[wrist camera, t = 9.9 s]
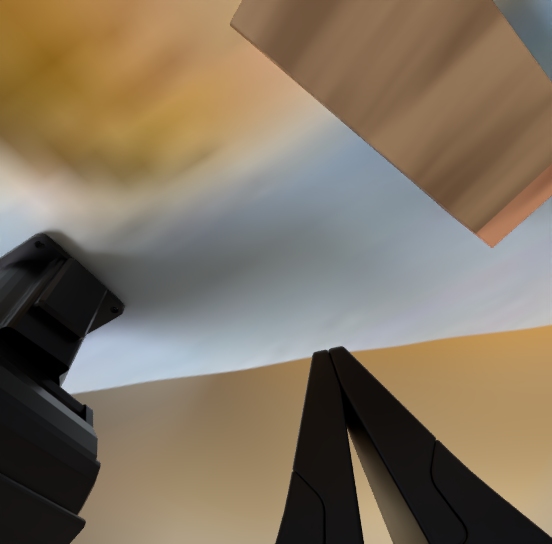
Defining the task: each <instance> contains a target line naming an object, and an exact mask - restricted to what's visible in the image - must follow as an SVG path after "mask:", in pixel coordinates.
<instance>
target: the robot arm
mask: <svg viewBox="0 0 552 544" xmlns="http://www.w3.org/2000/svg"><path fill="white" fill-rule="evenodd" d="M38 241H41V242H43V243H44V245H45V246H43V245H40V244H39V243H38ZM113 307H116V308H118V309H114V308H113ZM124 308H125V307H124V304H123V303H122V302H121V301H120V300H119V299H118V298H117V297H116V296H115V295H113V294H112V293H111V292H110V291H109V290H108V289H107V288H106V287H105V286H104V285H103V284H102V283H101V282H100V281H99V280H97V279H96V278H95V277H94V276H93V275H92V274H91V273H90V272H89V271H87V270H86V269H85V268H84V267H83V266H82V265H81V264H80V263H79V262H77V261H76V260H75V259H73V258H72V257H71V256H70V255H69V254H68V253H67V252H66V251H64V250H63V249H62V248H61V247H60V246H59V245H58V244H57V243H56V242H54V241H53V240H52V239H51V238H50V237H49V236H47V235H45V234H36V235H34V236H32V237H31V238H29V239H28V240H26V241H25V242H23V243H22V244H20V245H19V246H17V247H16V248H14V249H13V250H11V251H10V252H8V253H7V254H5V255H4V256H2V257H1V258H0V544H70V543H71V542H72V540H73V539H74V538H75V537H76V536H77V535H78V534H79V533H80V531H81V530H82V529H83V528H84V526H85V523H86V521H85V520H84V519H83V518H81V517H79V516H78V514H79V513H80V511H81V510H82V508H83V506H84V504H85V502H86V500H87V498H88V496H89V495H90V493H91V491H92V489H93V487H94V484H95V481H96V478H97V475H98V472H99V469H100V462H99V461H98V460H97V459H96V458H97V436H96V434H95V432H94V430H93V410H92V409H91V408H89V407H88V406H87V405H82V404H81V403H80V402H78V401H77V400H76V399H75V398H73V397H72V396H71V395H70V394H69V393H67V392H66V391H65V390H64V389H62V388H61V386H62V384H63V382H64V380H65V378H66V375H67V373H68V371H69V369H70V367H71V365H72V363H73V361H74V359H75V357H76V355H77V353H78V350H79V348H80V346H81V344H82V342H83V340H84V338H85V336H86V335H87V334H88V333H90V332H92V331H94V330H95V329H97V328H99V327H101V326H102V325H104V324H106V323H108V322H109V321H111V320H113V319H115V318H116V317H118V316H120V315H121V314H122V313H123V310H124ZM347 429H348V432H349V434H350V437H351V440H352V442H353V445H354V447H355V450H356V452H357V455H358V457H359V459H360V462H361V464H362V467H363V470H364V472H365V474H366V477H367V479H368V482H369V484H370V487H371V489H372V492H373V494H374V497H375V499H376V502H377V504H378V507H379V509H380V511H381V514H382V517H383V519H384V522H385V524H386V527H387V529H388V532H389V534H390V537H391V539H392V541H393V544H552V537H550V536H549V535H548V534H547V533H545V532H544V531H543V530H542V529H540V528H539V527H538V526H537V525H536V524H534V523H533V522H532V521H531V520H530V519H528V518H527V517H526V516H524V515H523V514H522V513H521V512H520V511H518V510H517V509H516V508H515V507H513V506H512V505H511V504H510V503H509V502H507V501H506V500H505V499H503V498H502V497H501V496H500V495H499V494H498V493H496V492H495V491H494V490H493V489H492V488H490V487H489V486H488V485H487V484H485V483H484V482H483V481H482V480H481V479H479V477H477V476H476V475H475V474H474V473H473V472H471V471H470V470H469V469H468V468H467V467H466V466H465V465H464V464H463V463H462V462H461V461H460V460H459V459H457V458H456V457H455V456H454V455H453V454H452V453H451V452H450V451H449V450H448V449H447V448H446V447H445V446H444V445H443V444H442V443H441V442H440V441H439V440H436V438H435V437H434V435H433V434H432V433H430V432H429V430H428V429H427V428H426V427H424V426H423V424H421V422H419V421H418V420H417V419H416V418H415V417H414V416H413V415H412V414H411V413H410V412H409V411H408V410H407V409H406V408H405V407H404V406H403V405H402V404H401V403H400V402H399V401H398V400H397V399H396V398H395V397H394V396H393V395H392V394H391V393H390V392H389V391H388V390H387V389H386V388H385V387H384V386H383V385H382V384H381V383H380V382H379V381H378V380H377V379H376V378H375V377H374V376H373V375H372V374H371V373H370V372H369V371H368V370H367V369H366V368H365V367H364V366H363V365H362V364H361V363H360V362H359V361H358V360H356V358H355V357H353V355H351V353H350V352H349V351H348V350H346V349H345V348H344V347H342V346H340V347H335V348H331V349H329V351H328V350H322V351H317V352H314V353H313V356H312V361H311V367H310V373H309V378H308V384H307V390H306V395H305V402H304V407H303V413H302V418H301V424H300V430H299V436H298V441H297V447H296V452H295V458H294V464H293V472H292V474H291V480H290V485H289V491H288V495H287V500H286V505H285V510H284V514H283V517H282V521H281V525H280V529H279V532H278V536H277V539H276V543H275V544H364V540H363V533H362V526H361V520H360V514H359V506H358V500H357V493H356V486H355V479H354V473H353V466H352V460H351V452H350V446H349V439H348V432H347Z"/></svg>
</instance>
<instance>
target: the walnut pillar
mask: <svg viewBox="0 0 552 544" xmlns="http://www.w3.org/2000/svg"><path fill="white" fill-rule="evenodd" d="M230 26H231V27H233V28H234V29H235V30H236V31H237V32H238V33H240V34H241V35H242V36H243V37H244V38H245V39H247V40H248V41H249V42H250V43H251V44H252V45H253V46H255V47H256V48H257V49H258V50H259V51H260V52H262V53H263V54H264V55H265V56H266V57H267V58H269V59H270V60H271V61H272V62H273V63H274V64H276V65H277V66H278V67H279V68H280V69H281V70H283V71H284V72H285V73H286V74H287V75H288V76H290V77H291V78H292V79H293V80H294V81H295V82H297V83H298V84H299V85H300V86H301V87H302V88H304V89H305V90H306V91H307V92H308V93H309V94H311V95H312V96H313V97H314V98H315V99H316V100H318V101H319V102H320V103H321V104H322V105H323V106H325V107H326V108H327V109H328V110H329V111H330V112H332V113H333V114H334V115H335V116H336V117H337V118H339V119H340V120H341V121H342V122H343V123H344V124H346V125H347V126H348V127H349V128H350V129H351V130H352V131H354V132H355V133H356V134H357V135H358V136H359V137H361V138H362V139H363V140H364V141H365V142H366V143H368V144H369V145H370V146H371V147H372V148H373V149H375V150H376V151H377V152H378V153H379V154H380V155H382V156H383V157H384V158H385V159H386V160H387V161H389V162H390V163H391V164H392V165H393V166H394V167H396V168H397V169H398V170H399V171H400V172H401V173H403V174H404V175H405V176H406V177H407V178H408V179H410V180H411V181H412V182H413V183H414V184H415V185H417V186H418V187H419V188H420V189H421V190H422V191H424V192H425V193H426V194H427V195H428V196H429V197H431V198H432V199H433V200H434V201H435V202H436V203H438V204H439V205H440V206H441V207H442V208H443V209H444V210H446V211H447V212H448V213H449V214H450V215H451V216H453V217H454V218H455V219H456V220H458V221H459V222H460V223H461V224H463V225H464V226H465V227H466V228H468V229H469V230H470V231H471V232H473V233H474V234H475V235H476V236H478V237H479V238H480V239H481V240H483V241H484V242H485V243H486V244H488V245H489V246H490V247H491V248H493V247H494V246H495V245H496V244H497V243H499V242H500V241H501V240H502V239H503V238H504V237H505V236H506V235H508V234H509V233H510V232H511V231H512V230H513V229H514V228H516V227H517V226H518V225H519V224H520V223H521V222H522V221H523V220H525V219H526V218H527V217H528V216H529V215H530V214H531V213H533V212H534V211H535V210H536V209H537V208H538V207H539V206H540V205H542V204H543V203H544V202H545V201H546V200H547V199H548V198H550V197H551V196H552V82H551V80H550V79H549V78H548V76H547V75H546V74H545V72H544V71H543V69H542V68H541V67H540V65H539V64H538V63H537V61H536V60H535V58H534V57H533V56H532V54H531V53H530V52H529V50H528V49H527V47H526V46H525V45H524V43H523V42H522V41H521V39H520V38H519V36H518V35H517V34H516V32H515V31H514V30H513V28H512V27H511V25H510V24H509V23H508V21H507V20H506V19H505V17H504V16H503V14H502V13H501V12H500V10H499V9H498V8H497V6H496V5H495V3H494V2H493V1H492V0H242V2H241V4H240V5H239V7H238V9H237V11H236V13H235V14H234V16H233V18H232V20H231V22H230Z"/></svg>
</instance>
